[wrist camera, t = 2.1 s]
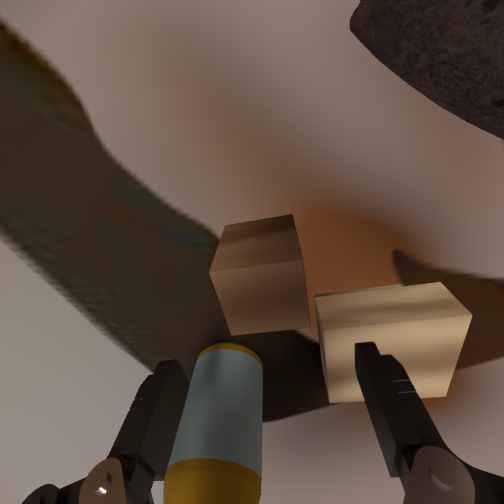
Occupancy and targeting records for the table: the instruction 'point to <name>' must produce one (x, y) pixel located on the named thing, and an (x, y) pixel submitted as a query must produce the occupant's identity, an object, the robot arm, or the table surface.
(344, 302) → the plinth
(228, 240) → the walnut block
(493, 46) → the perforated stone tool
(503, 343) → the table surface
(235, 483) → the bottle
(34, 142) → the table surface
